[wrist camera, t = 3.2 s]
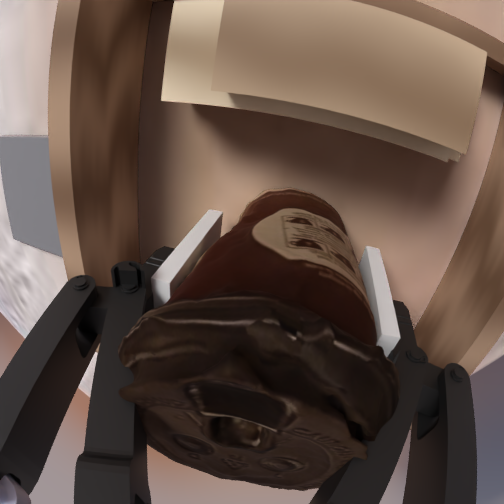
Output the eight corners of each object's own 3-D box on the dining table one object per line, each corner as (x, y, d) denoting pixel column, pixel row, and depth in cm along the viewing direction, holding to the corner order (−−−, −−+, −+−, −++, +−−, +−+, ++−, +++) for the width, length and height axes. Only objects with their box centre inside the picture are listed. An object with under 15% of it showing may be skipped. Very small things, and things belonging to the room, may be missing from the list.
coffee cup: (298, 131, 15) (223, 270, 4) (395, 242, 17) (451, 462, 6) (194, 231, 19) (65, 403, 8) (286, 315, 21) (243, 504, 10)
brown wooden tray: (134, -13, 12) (65, -33, 7) (528, 71, 9) (594, 79, 4) (127, 297, 24) (87, 348, 19) (408, 365, 21) (417, 429, 16)
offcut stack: (199, 10, 12) (143, -16, 8) (463, 68, 11) (522, 66, 6) (187, 95, 15) (127, 104, 10) (444, 153, 14) (494, 187, 9)
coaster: (3, 135, 19) (-3, 137, 18) (78, 136, 17) (72, 138, 17) (17, 235, 24) (13, 238, 23) (89, 261, 23) (85, 265, 22)
